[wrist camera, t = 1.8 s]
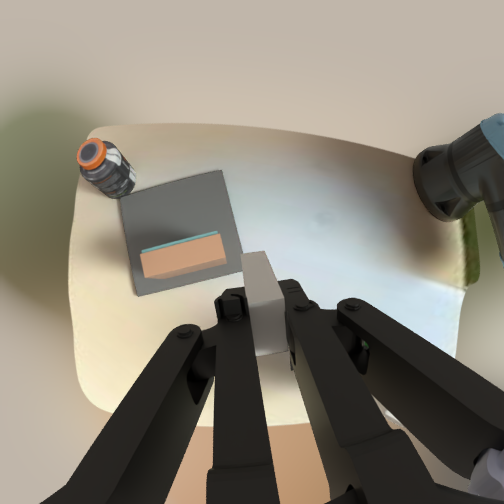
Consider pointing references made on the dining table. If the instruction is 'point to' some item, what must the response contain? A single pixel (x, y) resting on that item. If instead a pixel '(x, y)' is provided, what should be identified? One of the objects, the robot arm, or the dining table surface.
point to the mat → (180, 226)
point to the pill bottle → (106, 168)
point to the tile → (183, 256)
